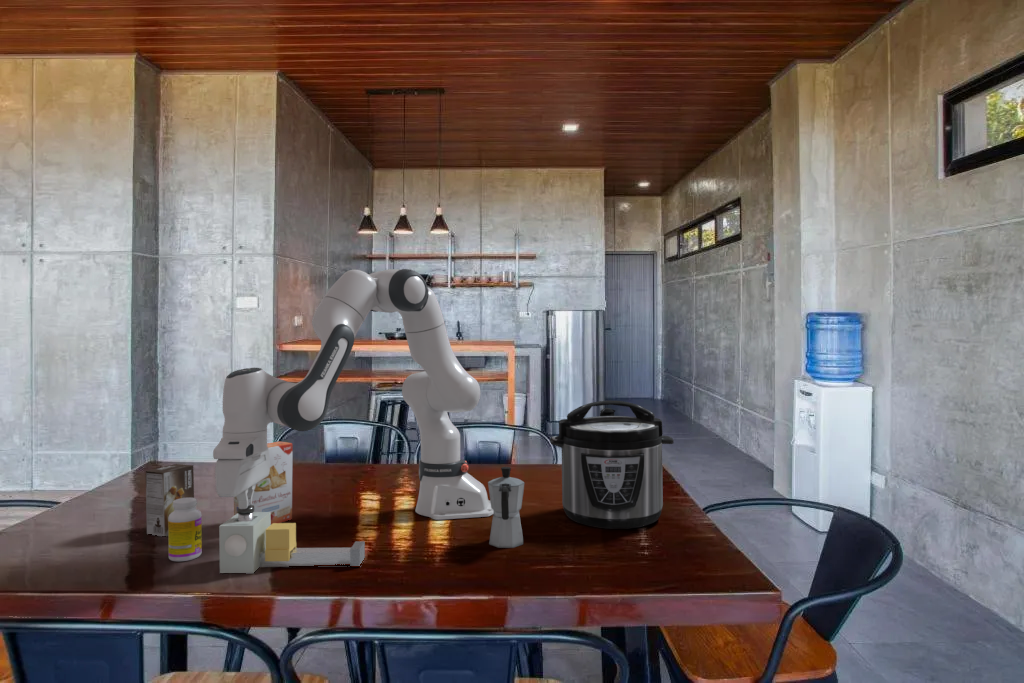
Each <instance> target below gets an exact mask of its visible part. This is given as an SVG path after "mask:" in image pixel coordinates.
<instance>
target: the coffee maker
mask: <svg viewBox="0 0 1024 683" xmlns="http://www.w3.org/2000/svg"><path fill="white" fill-rule="evenodd" d="M511 469H512V467H510V466H502V467H501V468H500V470H501V475H502V476H500V477H496V478H493V479H491V480H489V481H487V485H488V494H489V499H490V502H491V508H492V509H493V514H492V521H491V528H490V535H489V542H488V545H490V546H493V547H496V548H498V549H500V548H501V549H502V548H503V549H504V548H505V549H514V548H516V547H519V546H522V545H524V536H523V529H522V524H521V517H520V516H521V515H520V510H521V509H522V507H523V506H522V505H523V497H524V490H525V482H524V481H523V480H521V479H519V478H517V477H511V476H510V475H511Z"/></svg>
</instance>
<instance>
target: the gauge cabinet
mask: <svg viewBox="0 0 1024 683" xmlns="http://www.w3.org/2000/svg"><path fill="white" fill-rule="evenodd" d="M270 525H271V512H253V520H252V521H238V513H237V514H236V515H234V514H233V516H232V517H230V518H228V519H227V520H226V521H225V522H223V523H221V524H220V525H219V532H218V533H219V534H218V535H219V574H220V573H246V574H255V573H256V572H257V571H258V570H259V569H260V568H261V567H260V553H261V552H262V551H263V550H264V549H265V548H266V529H267V528H268V527H269V526H270ZM259 567H260V568H259ZM258 568H259V569H258ZM257 569H258V570H257ZM256 570H257V571H256ZM255 571H256V572H255ZM254 572H255V573H254Z"/></svg>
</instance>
